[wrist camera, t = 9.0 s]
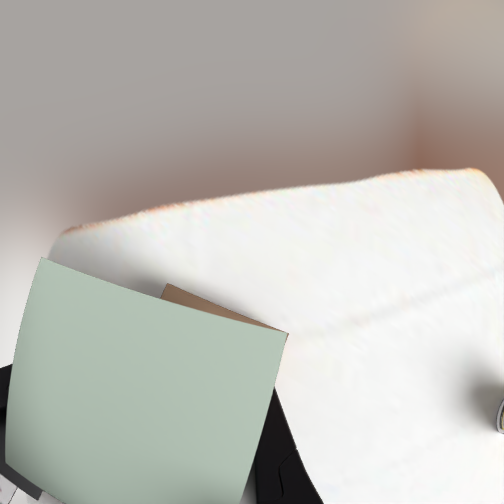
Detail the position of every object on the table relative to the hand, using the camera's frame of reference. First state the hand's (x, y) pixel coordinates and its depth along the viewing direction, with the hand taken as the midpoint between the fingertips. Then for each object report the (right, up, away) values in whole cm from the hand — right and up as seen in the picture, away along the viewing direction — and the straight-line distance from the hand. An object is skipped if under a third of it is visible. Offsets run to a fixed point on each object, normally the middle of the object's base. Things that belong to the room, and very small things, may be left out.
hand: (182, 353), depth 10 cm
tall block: (-1, -3, +6) cm, 7 cm away
